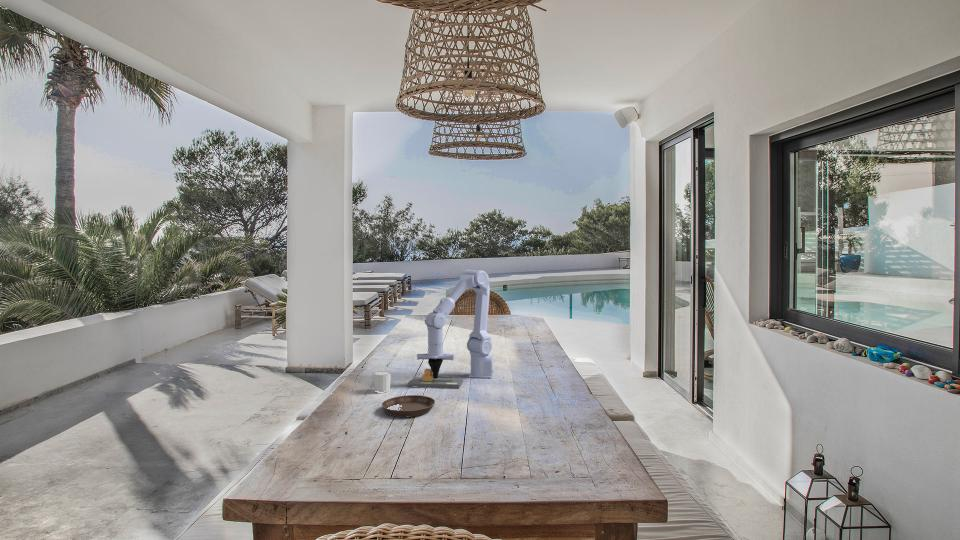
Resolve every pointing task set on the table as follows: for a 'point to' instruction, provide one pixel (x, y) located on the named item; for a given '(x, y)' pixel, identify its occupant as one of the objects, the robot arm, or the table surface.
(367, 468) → the table surface
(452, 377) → the cord bundle
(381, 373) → the shot glass
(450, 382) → the breaker panel
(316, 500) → the table surface
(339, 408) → the table surface
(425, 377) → the breaker toggle
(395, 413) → the plant saucer
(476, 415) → the table surface
